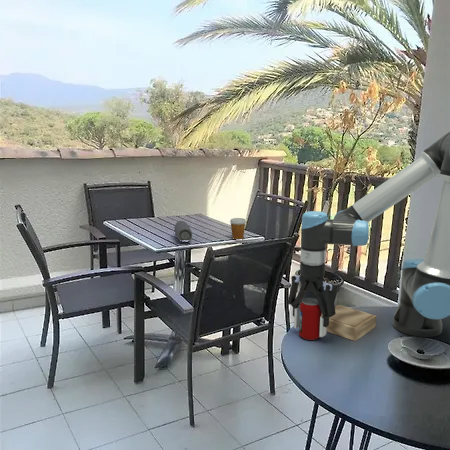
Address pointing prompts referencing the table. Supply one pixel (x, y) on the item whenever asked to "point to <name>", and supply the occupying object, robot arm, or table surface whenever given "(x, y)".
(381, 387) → the table surface
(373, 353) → the table surface
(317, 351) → the table surface
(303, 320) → the beverage can
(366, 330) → the square tray
